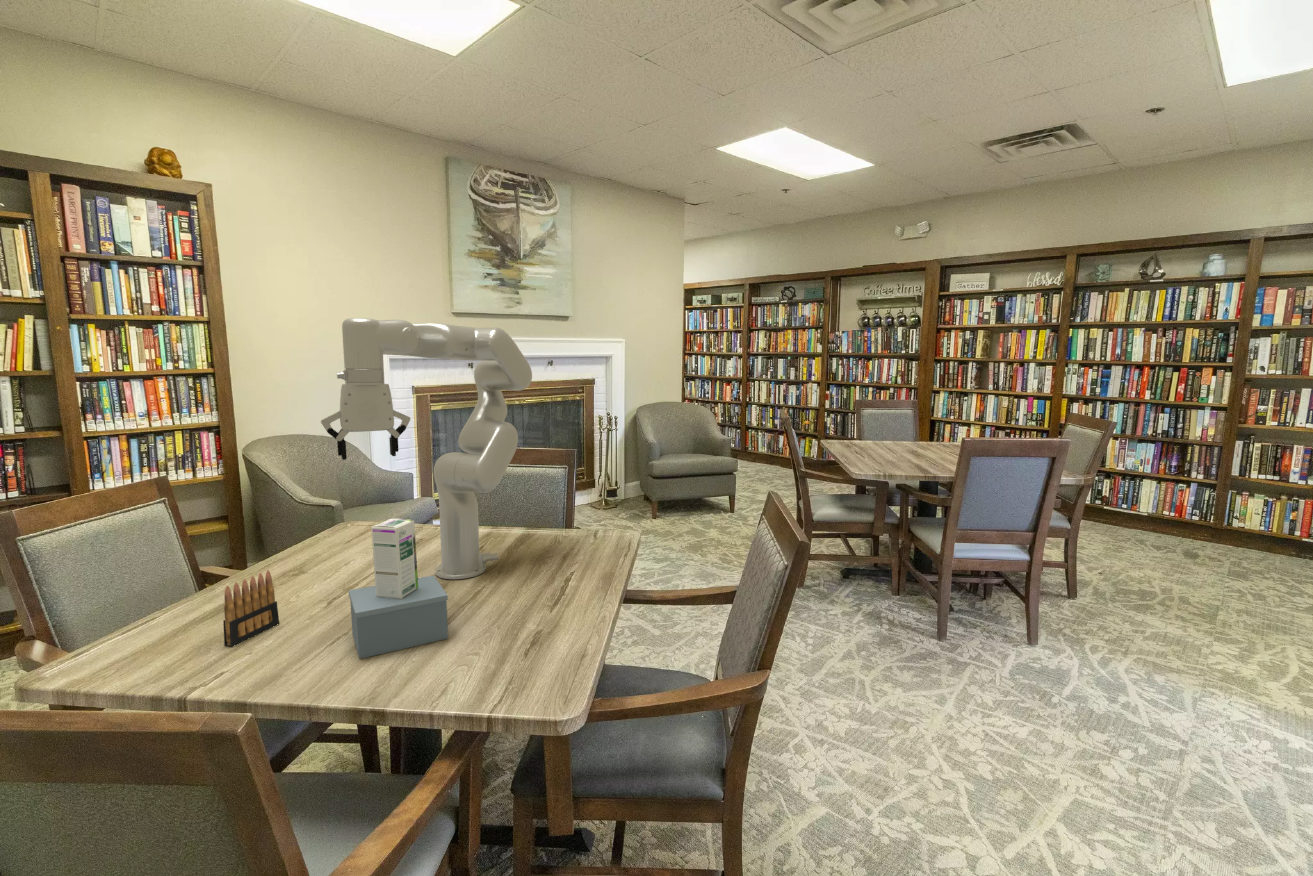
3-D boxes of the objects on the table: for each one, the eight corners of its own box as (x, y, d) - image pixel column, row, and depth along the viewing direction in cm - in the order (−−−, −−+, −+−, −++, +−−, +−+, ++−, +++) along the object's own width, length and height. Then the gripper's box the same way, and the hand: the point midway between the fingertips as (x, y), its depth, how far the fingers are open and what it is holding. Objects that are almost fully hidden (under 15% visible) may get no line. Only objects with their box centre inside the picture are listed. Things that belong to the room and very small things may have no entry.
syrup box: (401, 599, 115) (398, 527, 113) (374, 596, 116) (370, 525, 114) (418, 588, 121) (415, 519, 119) (392, 585, 122) (389, 517, 120)
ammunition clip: (272, 622, 125) (268, 568, 123) (279, 624, 125) (275, 569, 123) (224, 646, 115) (218, 586, 113) (231, 647, 114) (226, 587, 113)
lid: (433, 579, 128) (433, 575, 128) (447, 600, 118) (447, 595, 118) (348, 595, 119) (348, 590, 119) (355, 618, 109) (355, 613, 109)
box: (434, 616, 129) (433, 581, 128) (447, 638, 119) (446, 600, 118) (352, 633, 120) (350, 596, 119) (359, 659, 110) (356, 618, 109)
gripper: (319, 378, 118) (324, 463, 121) (411, 377, 128) (414, 456, 130) (317, 377, 125) (322, 457, 127) (405, 376, 134) (408, 451, 136)
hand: (369, 457), depth 128 cm, fingers open, 9 cm apart
